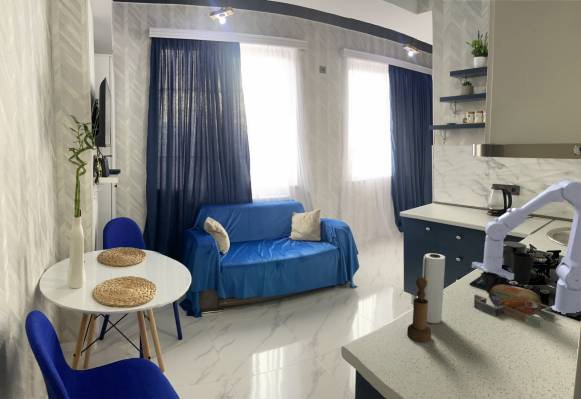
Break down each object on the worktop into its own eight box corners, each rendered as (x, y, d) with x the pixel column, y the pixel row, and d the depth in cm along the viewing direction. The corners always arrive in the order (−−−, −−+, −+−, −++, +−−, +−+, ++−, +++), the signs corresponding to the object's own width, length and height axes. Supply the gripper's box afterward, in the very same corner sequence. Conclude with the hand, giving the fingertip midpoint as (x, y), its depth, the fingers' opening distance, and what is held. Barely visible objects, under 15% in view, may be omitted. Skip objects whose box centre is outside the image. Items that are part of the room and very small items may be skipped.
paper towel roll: (438, 315, 125) (442, 252, 122) (443, 324, 119) (447, 258, 116) (415, 314, 126) (418, 252, 122) (420, 323, 120) (423, 258, 116)
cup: (534, 288, 147) (537, 258, 145) (513, 287, 148) (515, 257, 146) (526, 281, 154) (529, 252, 152) (506, 279, 156) (508, 251, 154)
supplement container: (530, 275, 161) (533, 247, 159) (505, 275, 161) (508, 247, 160) (516, 266, 172) (519, 241, 170) (493, 266, 172) (495, 240, 170)
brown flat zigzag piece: (497, 294, 142) (497, 288, 141) (561, 318, 122) (562, 311, 122) (466, 303, 134) (467, 297, 133) (530, 331, 114) (531, 323, 114)
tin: (488, 305, 132) (489, 282, 131) (491, 302, 134) (493, 279, 133) (538, 319, 122) (540, 294, 120) (540, 316, 124) (543, 292, 123)
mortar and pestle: (434, 336, 112) (437, 277, 109) (425, 344, 107) (428, 284, 105) (413, 328, 117) (415, 272, 114) (403, 336, 112) (405, 278, 109)
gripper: (467, 252, 137) (464, 287, 139) (506, 263, 124) (502, 302, 126) (480, 249, 140) (477, 284, 142) (519, 260, 128) (515, 298, 130)
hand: (490, 292), depth 135 cm, fingers closed
